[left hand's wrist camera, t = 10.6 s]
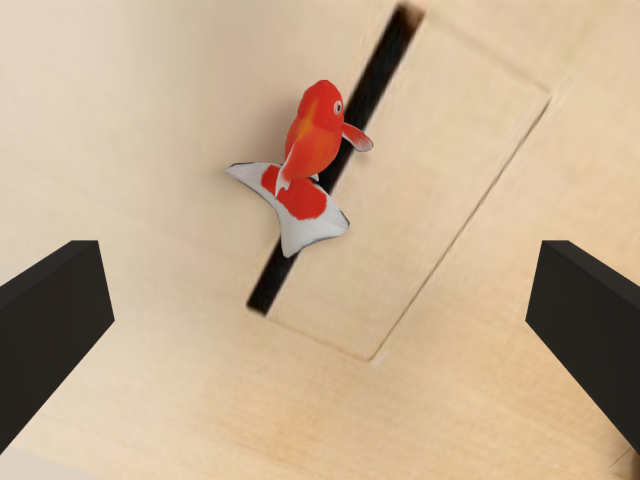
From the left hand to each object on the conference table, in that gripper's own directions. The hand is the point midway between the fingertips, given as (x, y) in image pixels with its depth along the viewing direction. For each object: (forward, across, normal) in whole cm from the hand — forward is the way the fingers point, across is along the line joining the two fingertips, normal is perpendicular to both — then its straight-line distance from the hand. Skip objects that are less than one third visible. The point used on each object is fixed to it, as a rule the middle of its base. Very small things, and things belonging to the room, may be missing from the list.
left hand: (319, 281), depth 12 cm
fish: (+27, +1, +2) cm, 27 cm away
